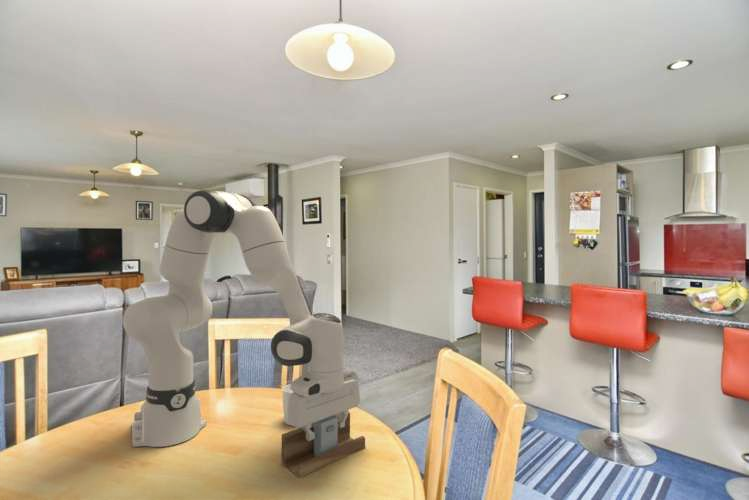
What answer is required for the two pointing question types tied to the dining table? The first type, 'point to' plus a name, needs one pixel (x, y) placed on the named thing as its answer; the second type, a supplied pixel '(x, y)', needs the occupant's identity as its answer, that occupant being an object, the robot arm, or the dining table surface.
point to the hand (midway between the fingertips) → (325, 433)
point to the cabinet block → (325, 435)
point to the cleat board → (301, 451)
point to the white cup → (286, 401)
